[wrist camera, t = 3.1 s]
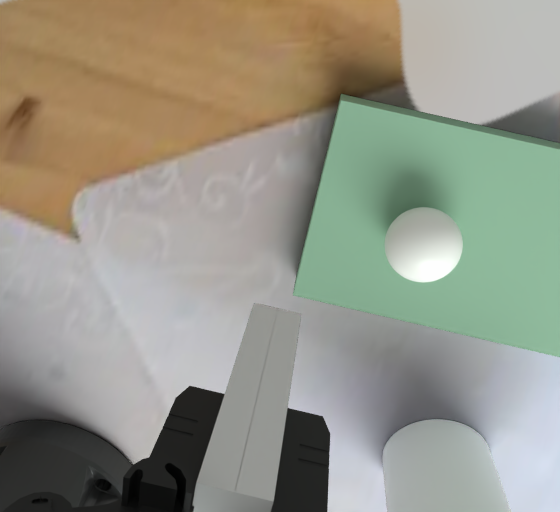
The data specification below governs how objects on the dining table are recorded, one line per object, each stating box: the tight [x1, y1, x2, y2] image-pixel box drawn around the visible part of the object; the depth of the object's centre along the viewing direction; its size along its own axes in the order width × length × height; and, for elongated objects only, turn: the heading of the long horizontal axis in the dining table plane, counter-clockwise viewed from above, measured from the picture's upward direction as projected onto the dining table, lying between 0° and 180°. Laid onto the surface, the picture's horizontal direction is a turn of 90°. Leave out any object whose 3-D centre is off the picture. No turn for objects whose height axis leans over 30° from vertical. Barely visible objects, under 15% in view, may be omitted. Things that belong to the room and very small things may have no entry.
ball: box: [384, 207, 463, 282], centre depth 26 cm, size 4×4×4 cm
